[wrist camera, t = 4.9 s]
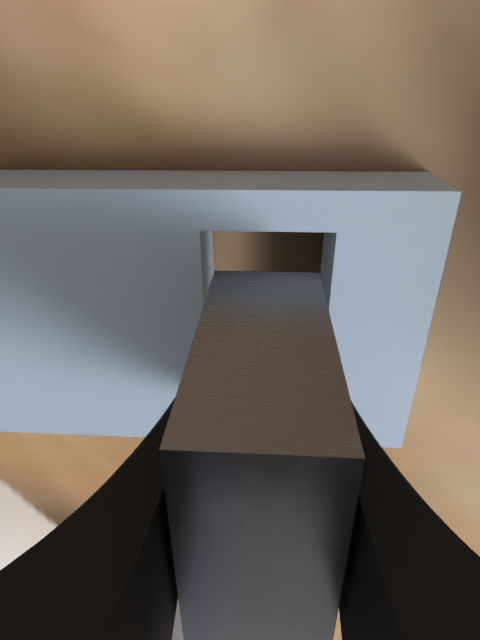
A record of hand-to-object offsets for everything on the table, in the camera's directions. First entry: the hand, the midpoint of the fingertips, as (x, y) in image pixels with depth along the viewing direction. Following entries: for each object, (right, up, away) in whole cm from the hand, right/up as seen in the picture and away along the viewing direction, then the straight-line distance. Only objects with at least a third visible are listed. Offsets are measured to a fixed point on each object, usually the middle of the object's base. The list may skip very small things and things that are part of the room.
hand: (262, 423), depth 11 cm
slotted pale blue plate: (-3, +4, +7) cm, 8 cm away
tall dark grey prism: (0, +1, +3) cm, 3 cm away
